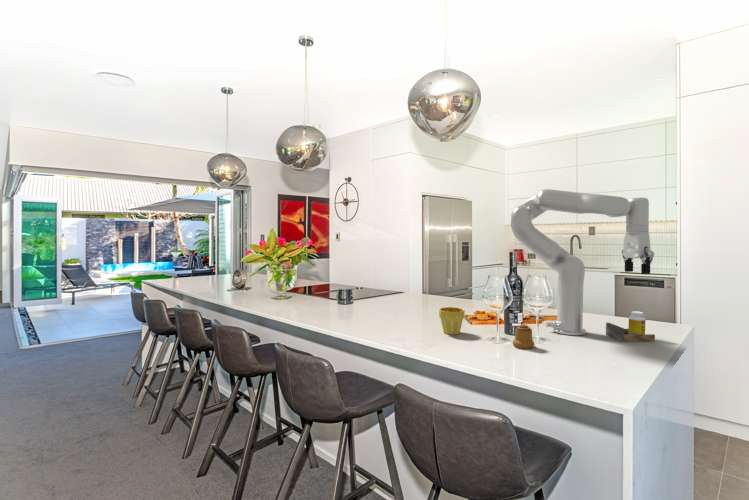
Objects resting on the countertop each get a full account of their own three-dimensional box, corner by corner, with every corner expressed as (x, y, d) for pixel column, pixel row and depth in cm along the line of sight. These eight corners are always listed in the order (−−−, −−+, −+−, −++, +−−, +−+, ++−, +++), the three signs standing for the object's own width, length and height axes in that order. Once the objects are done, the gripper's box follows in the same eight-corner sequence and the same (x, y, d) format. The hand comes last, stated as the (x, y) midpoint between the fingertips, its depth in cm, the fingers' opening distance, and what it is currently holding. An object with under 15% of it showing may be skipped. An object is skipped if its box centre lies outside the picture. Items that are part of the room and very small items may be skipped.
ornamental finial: (538, 348, 147) (520, 350, 145) (525, 343, 155) (508, 344, 153) (539, 326, 147) (521, 328, 145) (526, 322, 154) (508, 323, 152)
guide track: (637, 334, 167) (637, 322, 166) (654, 341, 157) (655, 328, 156) (605, 334, 166) (606, 322, 166) (620, 341, 156) (621, 328, 156)
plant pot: (453, 337, 164) (453, 312, 163) (433, 332, 171) (433, 309, 171) (469, 332, 170) (469, 309, 170) (449, 328, 178) (449, 306, 178)
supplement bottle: (642, 340, 158) (643, 314, 157) (626, 338, 162) (627, 312, 161) (646, 338, 161) (647, 312, 161) (630, 335, 165) (631, 310, 165)
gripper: (614, 229, 171) (614, 271, 172) (643, 229, 154) (643, 275, 154) (631, 229, 171) (631, 270, 172) (662, 228, 154) (662, 274, 155)
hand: (637, 272), depth 163 cm, fingers open, 9 cm apart
